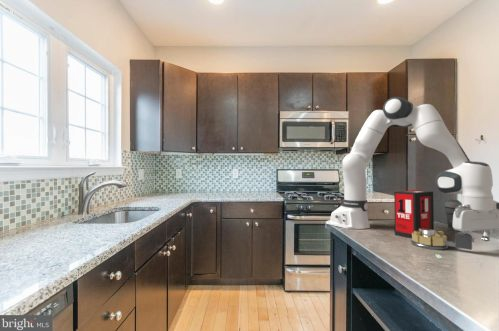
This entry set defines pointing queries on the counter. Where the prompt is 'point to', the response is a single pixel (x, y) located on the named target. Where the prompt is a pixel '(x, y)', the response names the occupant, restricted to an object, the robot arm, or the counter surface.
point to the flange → (429, 233)
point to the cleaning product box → (413, 212)
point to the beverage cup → (451, 212)
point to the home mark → (438, 256)
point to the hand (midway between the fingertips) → (478, 241)
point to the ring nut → (443, 239)
